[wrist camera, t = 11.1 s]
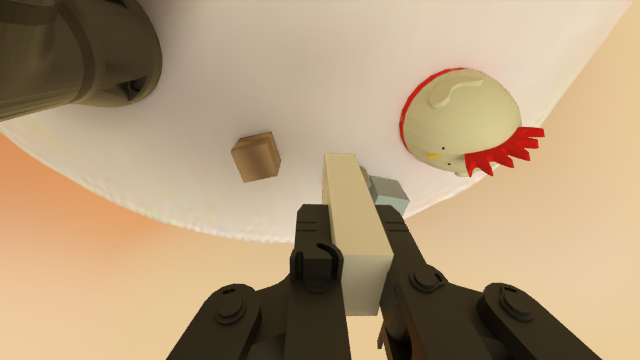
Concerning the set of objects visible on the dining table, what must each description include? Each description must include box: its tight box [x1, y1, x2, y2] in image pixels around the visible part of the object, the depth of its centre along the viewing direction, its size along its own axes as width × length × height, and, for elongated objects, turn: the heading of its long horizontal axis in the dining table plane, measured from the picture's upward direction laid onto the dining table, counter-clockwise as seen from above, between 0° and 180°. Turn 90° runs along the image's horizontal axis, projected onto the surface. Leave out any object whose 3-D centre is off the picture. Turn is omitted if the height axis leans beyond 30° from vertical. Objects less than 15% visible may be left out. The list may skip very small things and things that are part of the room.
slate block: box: [368, 176, 410, 216], centre depth 40 cm, size 5×5×6 cm
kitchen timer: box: [399, 68, 545, 177], centre depth 30 cm, size 14×14×15 cm
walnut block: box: [231, 132, 281, 182], centre depth 36 cm, size 5×5×5 cm
